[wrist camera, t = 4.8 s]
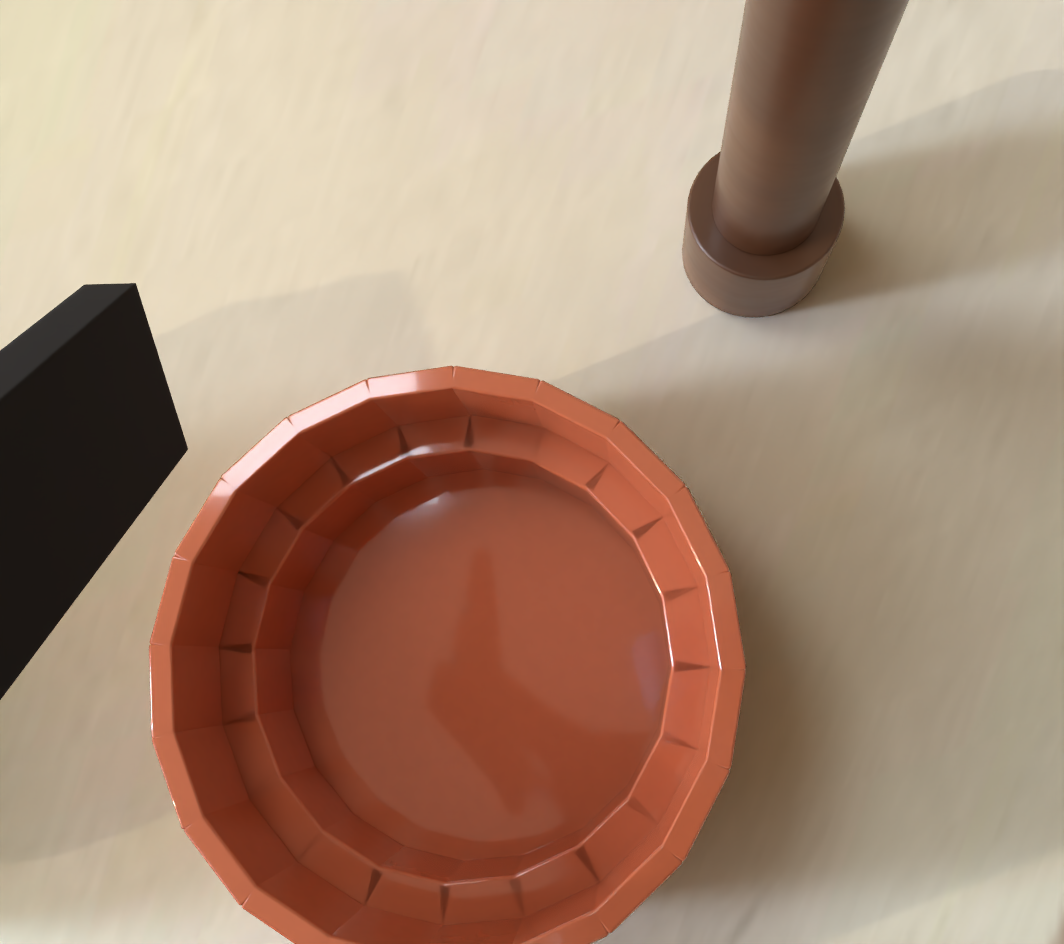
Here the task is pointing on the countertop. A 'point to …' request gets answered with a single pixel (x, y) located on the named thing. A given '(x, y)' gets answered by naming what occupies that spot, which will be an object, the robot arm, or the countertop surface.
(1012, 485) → the countertop surface
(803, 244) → the brown pestle
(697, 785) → the bowl
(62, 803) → the countertop surface
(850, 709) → the countertop surface
